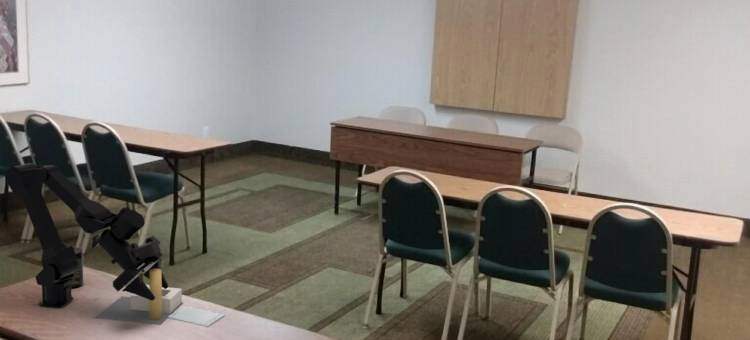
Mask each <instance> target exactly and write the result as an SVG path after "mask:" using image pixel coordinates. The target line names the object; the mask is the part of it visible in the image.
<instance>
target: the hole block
mask: <svg viewBox="0 0 750 340" xmlns="http://www.w3.org/2000/svg"><path fill="white" fill-rule="evenodd" d="M146 285H147V287H148V288H149V289H150V284H149V285H148V284H146ZM182 295H183V289H182V288H180V287H179V288H178V287H169V286H168V288H167V289H164V288H163V287H162V313H171V312H172V311H173V310H174V309H175V308H177V307H178V306H179V305H180V304H181V303H182V301H183V298H182ZM130 297H131V309H132V310H141V311H150V300H149V299H146V298H144V297H141V296H138V295H136V294H133V293H131V295H130Z"/></svg>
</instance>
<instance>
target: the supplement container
mask: <svg viewBox="0 0 750 340" xmlns="http://www.w3.org/2000/svg"><path fill="white" fill-rule="evenodd" d="M72 247H73V248H74V251H75V254H76V256H77V257H78V260H77V261H78V267H77V270H76V272H75V274H74V277H73V278H70V279H68V280H70V286H71V290H72V289H77V288H79V287H81V286H82V285H84V281H85V280H84V250H83V248H81V247H75V246H72Z"/></svg>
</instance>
